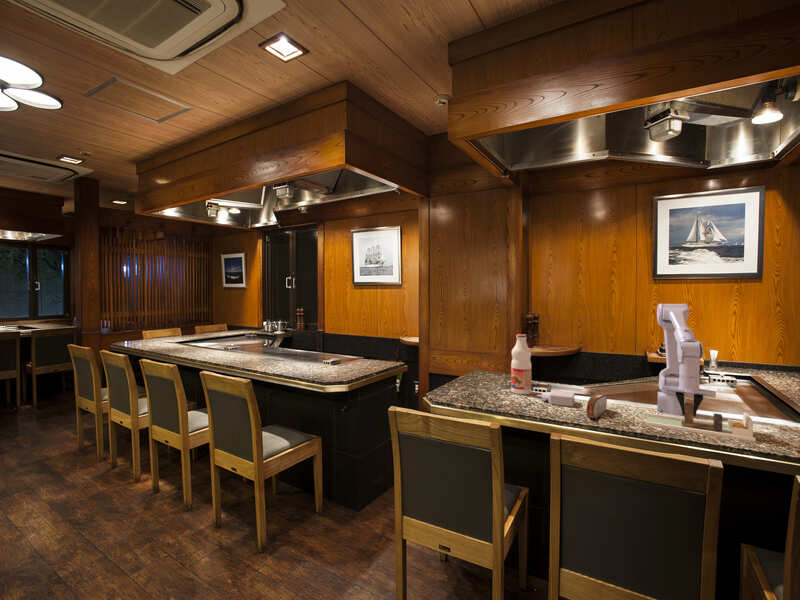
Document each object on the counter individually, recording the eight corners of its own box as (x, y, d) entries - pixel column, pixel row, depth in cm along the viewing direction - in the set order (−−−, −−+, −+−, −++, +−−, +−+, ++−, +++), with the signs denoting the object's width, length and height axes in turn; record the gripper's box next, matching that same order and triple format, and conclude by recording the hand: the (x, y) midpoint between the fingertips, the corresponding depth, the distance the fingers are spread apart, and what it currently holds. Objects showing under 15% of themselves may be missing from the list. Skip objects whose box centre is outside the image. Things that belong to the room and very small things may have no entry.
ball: (748, 434, 129) (734, 436, 131) (746, 431, 132) (733, 432, 134) (744, 423, 130) (730, 425, 132) (742, 420, 133) (729, 422, 135)
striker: (681, 426, 139) (682, 404, 138) (681, 422, 142) (681, 401, 142) (722, 432, 132) (722, 409, 132) (720, 428, 136) (721, 406, 136)
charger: (538, 398, 183) (574, 402, 176) (535, 403, 175) (572, 407, 168) (538, 388, 183) (574, 391, 176) (535, 392, 175) (572, 396, 168)
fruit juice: (533, 395, 188) (534, 335, 187) (513, 394, 188) (513, 335, 188) (528, 390, 197) (528, 333, 197) (508, 390, 198) (509, 333, 197)
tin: (600, 411, 162) (600, 390, 162) (608, 413, 159) (608, 392, 159) (585, 419, 151) (585, 397, 151) (594, 421, 149) (594, 399, 149)
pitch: (644, 428, 141) (644, 407, 141) (646, 419, 152) (646, 399, 152) (755, 446, 125) (755, 422, 125) (748, 434, 135) (748, 412, 135)
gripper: (664, 375, 140) (663, 414, 140) (716, 380, 132) (716, 421, 132) (664, 372, 146) (663, 409, 146) (714, 377, 137) (714, 416, 138)
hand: (688, 415), depth 139 cm, fingers closed on striker, 2 cm apart
